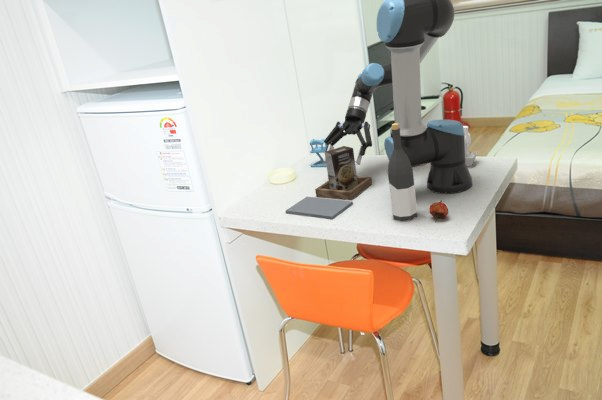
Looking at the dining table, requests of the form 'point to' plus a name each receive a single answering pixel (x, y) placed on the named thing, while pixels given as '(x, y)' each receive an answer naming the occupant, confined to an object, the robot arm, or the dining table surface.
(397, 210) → the wine bottle
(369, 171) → the dining table surface
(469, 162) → the figurine
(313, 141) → the chair
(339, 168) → the coffee box
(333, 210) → the slate mat
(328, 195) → the walnut cradle
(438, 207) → the pomegranate
